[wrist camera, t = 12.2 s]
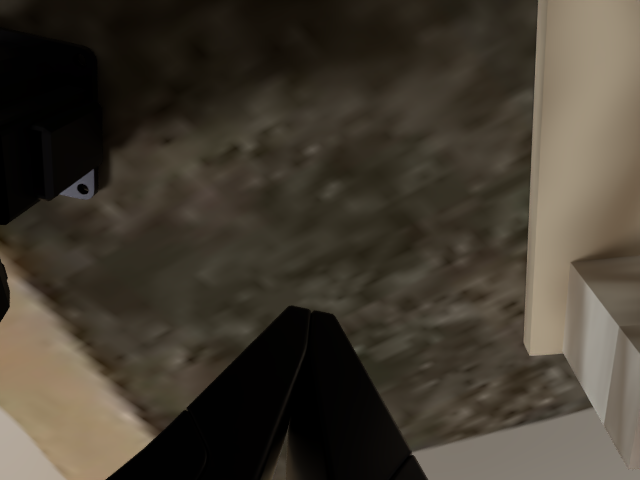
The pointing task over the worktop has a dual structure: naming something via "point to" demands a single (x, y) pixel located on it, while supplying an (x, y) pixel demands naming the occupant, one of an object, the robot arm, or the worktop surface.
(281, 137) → the worktop surface
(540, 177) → the stand
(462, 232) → the worktop surface
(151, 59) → the worktop surface
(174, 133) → the worktop surface
